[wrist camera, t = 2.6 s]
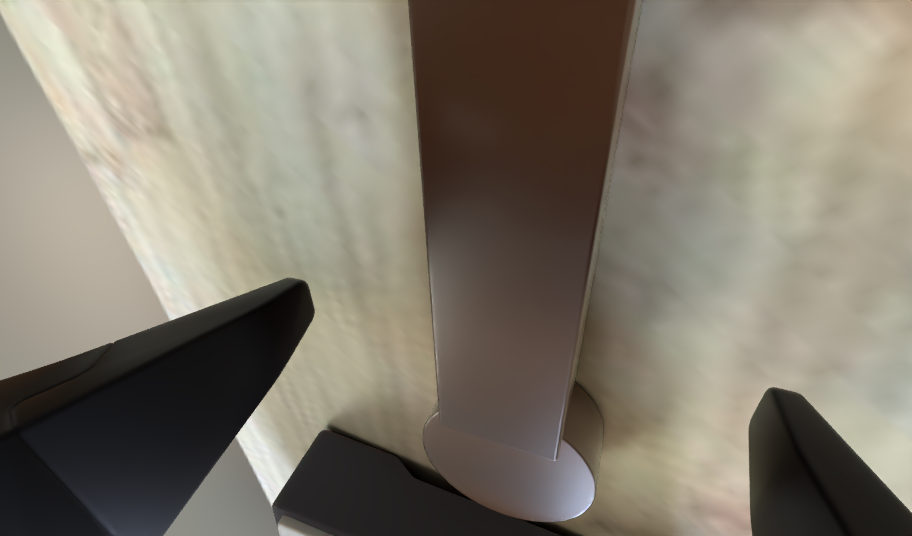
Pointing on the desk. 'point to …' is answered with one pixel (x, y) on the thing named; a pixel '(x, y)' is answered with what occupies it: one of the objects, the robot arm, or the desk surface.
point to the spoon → (516, 236)
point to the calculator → (377, 499)
